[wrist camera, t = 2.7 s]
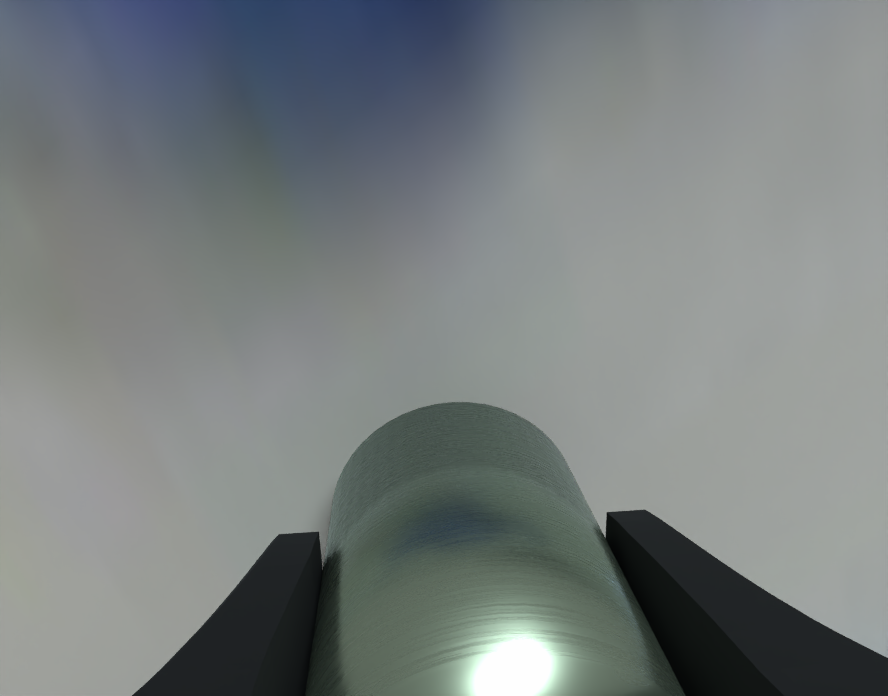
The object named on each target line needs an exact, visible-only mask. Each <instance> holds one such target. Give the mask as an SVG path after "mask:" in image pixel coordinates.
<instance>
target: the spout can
mask: <svg viewBox="0 0 888 696" xmlns="http://www.w3.org/2000/svg"><path fill="white" fill-rule="evenodd" d="M305 696H685V694H684V692H683V690H682V688H681V686H680V684H679V682H678V680H677V678H676V676H675V674H674V672H673V670H672V668H671V666H670V664H669V662H668V660H667V658H666V656H665V654H664V652H663V650H662V649H661V647H660V645H659V643H658V641H657V639H656V637H655V635H654V633H653V631H652V629H651V627H650V625H649V623H648V621H647V619H646V617H645V615H644V613H643V611H642V609H641V607H640V605H639V603H638V602H637V600H636V598H635V596H634V594H633V592H632V590H631V588H630V586H629V584H628V582H627V580H626V578H625V576H624V574H623V572H622V570H621V568H620V566H619V564H618V562H617V560H616V558H615V556H614V555H613V553H612V551H611V549H610V547H609V545H608V543H607V541H606V539H605V537H604V535H603V533H602V531H601V529H600V527H599V525H598V523H597V521H596V519H595V517H594V515H593V513H592V511H591V509H590V508H589V506H588V504H587V502H586V500H585V498H584V496H583V494H582V492H581V490H580V488H579V486H578V484H577V482H576V480H575V478H574V476H573V474H572V472H571V470H570V468H569V466H568V465H567V463H566V461H565V459H564V457H563V455H562V454H561V452H560V451H559V449H558V448H557V447H556V445H555V444H554V443H553V442H552V441H551V440H550V439H549V438H548V437H547V436H546V435H545V434H544V433H543V432H542V431H541V430H540V429H538V428H537V427H536V426H535V425H533V424H532V423H531V422H529V421H527V420H525V419H524V418H522V417H520V416H518V415H516V414H514V413H511V412H509V411H506V410H504V409H501V408H497V407H493V406H490V405H486V404H478V403H470V402H451V403H442V404H435V405H431V406H426V407H422V408H418V409H416V410H413V411H410V412H408V413H405V414H403V415H401V416H399V417H397V418H395V419H393V420H391V421H389V422H388V423H386V424H385V425H383V426H382V427H380V428H379V429H378V430H376V431H375V432H374V433H372V434H371V435H370V436H369V437H368V438H367V439H366V440H365V441H364V442H363V443H362V444H361V445H360V446H359V447H358V448H357V450H356V451H355V452H354V453H353V454H352V456H351V457H350V459H349V461H348V462H347V464H346V465H345V467H344V469H343V471H342V473H341V475H340V478H339V480H338V482H337V486H336V489H335V493H334V497H333V504H332V511H331V518H330V525H329V532H328V539H327V546H326V553H325V560H324V567H323V574H322V581H321V588H320V595H319V602H318V609H317V616H316V623H315V630H314V637H313V644H312V651H311V658H310V665H309V672H308V679H307V686H306V693H305Z"/></svg>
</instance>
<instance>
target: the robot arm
mask: <svg viewBox="0 0 888 696" xmlns="http://www.w3.org/2000/svg"><path fill="white" fill-rule="evenodd" d="M606 541H607V543H608V545H609V547H610V549H611V551H612V553H613V555H614V556H615V558H616V560H617V562H618V564H619V566H620V568H621V570H622V572H623V574H624V576H625V578H626V580H627V582H628V584H629V586H630V588H631V590H632V592H633V594H634V596H635V598H636V600H637V602H638V603H639V605H640V607H641V609H642V611H643V613H644V615H645V617H646V619H647V621H648V623H649V625H650V627H651V629H652V631H653V633H654V635H655V637H656V639H657V641H658V643H659V645H660V647H661V649H662V650H663V652H664V654H665V656H666V658H667V660H668V662H669V664H670V666H671V668H672V670H673V672H674V674H675V676H676V678H677V680H678V682H679V684H680V686H681V688H682V690H683V692H684V694H685V696H888V658H886V657H884V656H882V655H880V654H878V653H876V652H874V651H873V650H871V649H869V648H867V647H865V646H863V645H861V644H859V643H857V642H855V641H853V640H851V639H849V638H847V637H845V636H843V635H841V634H839V633H837V632H835V631H833V630H832V629H830V628H828V627H826V626H824V625H822V624H821V623H819V622H817V621H815V620H813V619H812V618H810V617H808V616H807V615H805V614H803V613H802V612H800V611H798V610H797V609H795V608H793V607H792V606H790V605H788V604H787V603H785V602H783V601H781V600H780V599H778V598H776V597H775V596H773V595H771V594H770V593H768V592H767V591H765V590H764V589H762V588H760V587H759V586H757V585H756V584H754V583H753V582H751V581H749V580H748V579H746V578H745V577H743V576H742V575H740V574H739V573H737V572H736V571H734V570H733V569H731V568H730V567H728V566H727V565H725V564H724V563H722V562H721V561H720V560H718V559H717V558H715V557H714V556H712V555H711V554H709V553H708V552H706V551H705V550H704V549H702V548H701V547H699V546H698V545H696V544H695V543H694V542H692V541H691V540H689V539H688V538H686V537H685V536H684V535H682V534H681V533H679V532H678V531H676V530H675V529H674V528H672V527H671V526H669V525H668V524H666V523H665V522H663V521H662V520H661V519H659V518H658V517H656V516H654V515H653V514H651V513H650V512H648V511H646V510H634V511H619V512H607V520H606ZM322 574H323V569H322V559H321V549H320V539H319V532H307V533H293V534H279V535H278V536H277V537H276V538H275V539H274V540H273V541H272V542H271V543H270V545H269V546H268V547H267V548H266V550H265V551H264V552H263V554H262V555H261V556H260V557H259V559H258V560H257V561H256V563H255V564H254V565H253V566H252V568H251V569H250V570H249V571H248V573H247V574H246V575H245V576H244V578H243V579H242V580H241V581H240V583H239V584H238V585H237V586H236V587H235V589H234V590H233V591H232V592H231V593H230V595H229V596H228V597H227V598H226V599H225V600H224V602H223V603H222V604H221V605H220V606H219V607H218V609H217V610H216V611H215V612H214V613H213V614H212V615H211V617H210V618H209V619H208V620H207V621H206V622H205V623H204V625H203V626H202V627H201V628H200V629H199V630H198V631H197V632H196V633H195V634H194V635H193V636H192V637H191V638H190V639H189V640H188V642H187V643H186V644H185V645H184V646H183V647H182V648H181V649H180V650H179V651H178V652H177V653H176V654H175V655H174V656H173V657H172V658H171V659H170V660H169V661H168V662H167V663H166V664H165V665H164V666H163V667H162V668H161V669H160V670H159V671H158V672H157V673H156V674H155V675H154V676H153V677H152V678H151V679H150V680H149V681H148V682H147V683H146V684H145V685H144V686H143V687H141V688H140V689H139V690H138V691H137V692H136V693H134V694H133V695H132V696H305V693H306V686H307V679H308V672H309V665H310V658H311V651H312V644H313V637H314V630H315V623H316V616H317V609H318V602H319V595H320V588H321V581H322Z"/></svg>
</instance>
